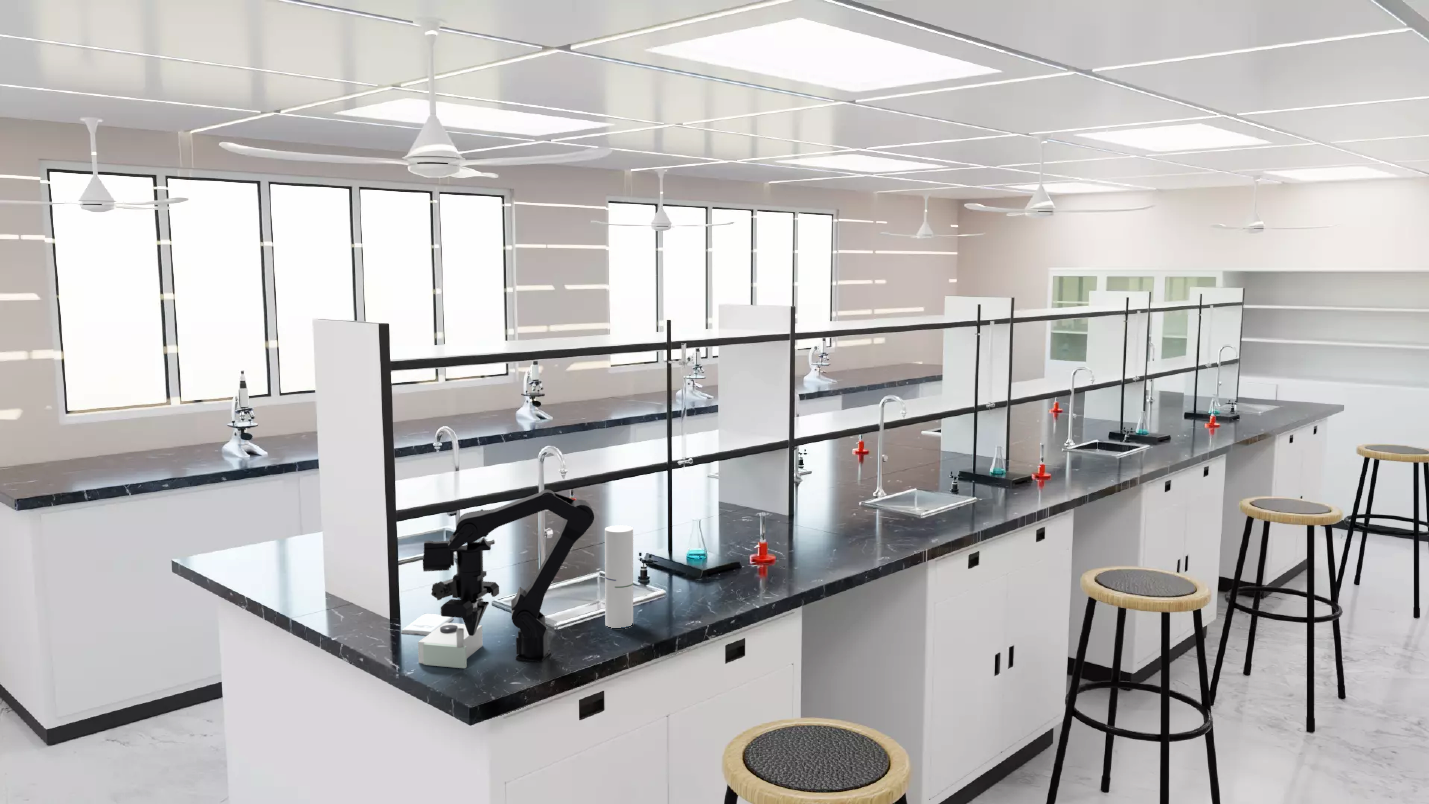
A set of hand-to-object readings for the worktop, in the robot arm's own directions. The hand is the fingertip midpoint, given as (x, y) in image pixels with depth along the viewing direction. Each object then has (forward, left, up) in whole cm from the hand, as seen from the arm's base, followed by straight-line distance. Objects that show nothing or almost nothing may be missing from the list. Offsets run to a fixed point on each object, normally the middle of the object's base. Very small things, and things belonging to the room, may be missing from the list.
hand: (471, 635), depth 231 cm
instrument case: (+7, -3, -6) cm, 9 cm away
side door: (+4, +5, -6) cm, 9 cm away
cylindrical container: (-26, -31, -6) cm, 41 cm away
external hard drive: (+21, -20, -7) cm, 30 cm away
